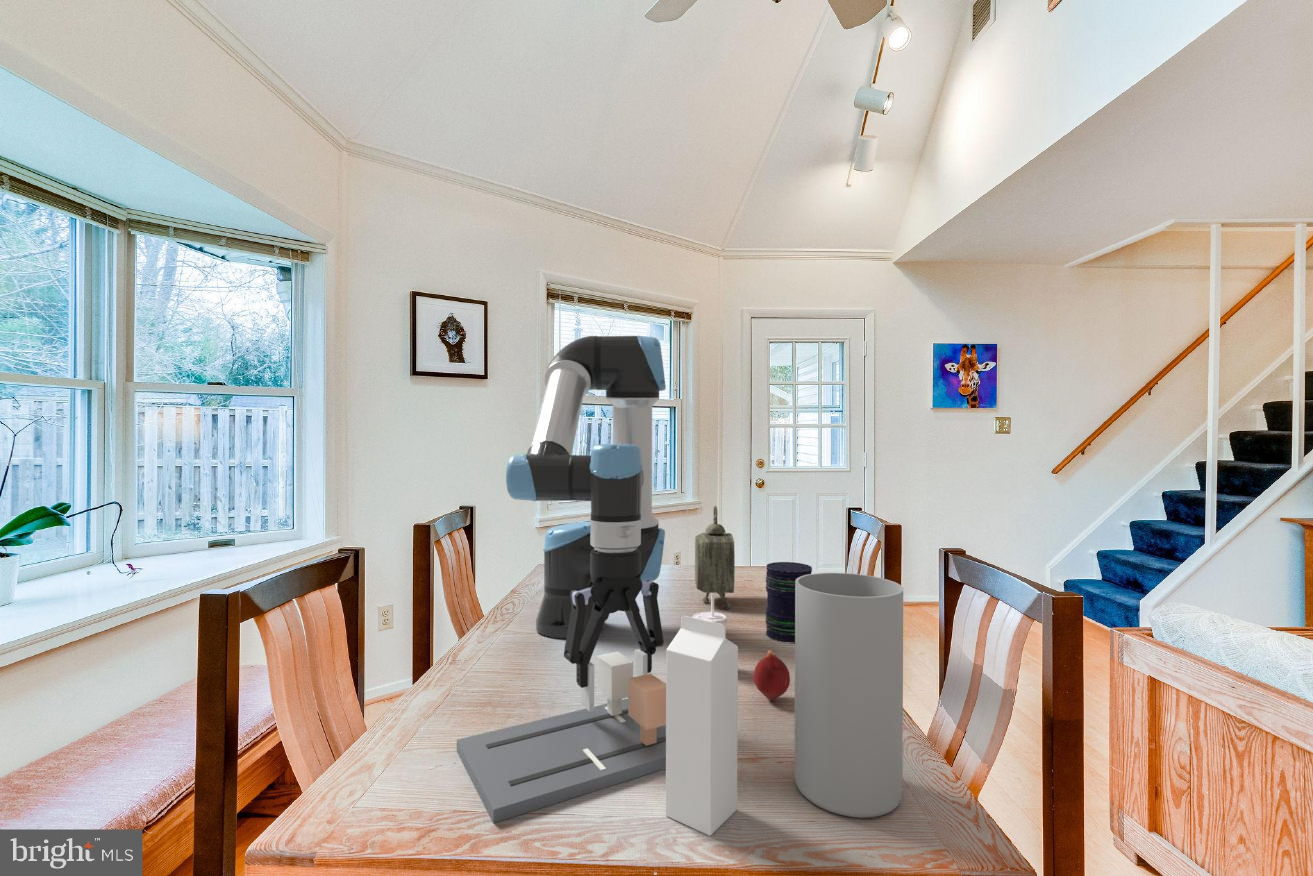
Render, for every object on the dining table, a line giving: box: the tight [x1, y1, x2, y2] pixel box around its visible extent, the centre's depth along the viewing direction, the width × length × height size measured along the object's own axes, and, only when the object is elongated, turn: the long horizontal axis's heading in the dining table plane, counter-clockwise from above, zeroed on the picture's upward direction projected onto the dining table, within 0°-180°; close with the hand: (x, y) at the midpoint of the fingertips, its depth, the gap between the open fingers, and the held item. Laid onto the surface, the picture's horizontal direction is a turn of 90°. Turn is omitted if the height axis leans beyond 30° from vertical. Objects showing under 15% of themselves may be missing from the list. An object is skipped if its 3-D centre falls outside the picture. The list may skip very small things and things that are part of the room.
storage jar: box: [765, 561, 813, 644], centre depth 132 cm, size 10×10×15 cm
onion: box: [753, 650, 791, 701], centre depth 100 cm, size 6×6×8 cm
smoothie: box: [692, 593, 728, 627], centre depth 113 cm, size 6×6×14 cm
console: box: [456, 698, 666, 824], centre depth 82 cm, size 18×28×2 cm, turn 121°
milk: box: [665, 615, 739, 837], centre depth 70 cm, size 6×6×22 cm
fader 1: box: [596, 651, 634, 716], centre depth 91 cm, size 5×4×8 cm
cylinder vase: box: [793, 572, 904, 819], centre depth 74 cm, size 12×12×25 cm
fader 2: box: [627, 673, 666, 746], centre depth 82 cm, size 5×4×8 cm
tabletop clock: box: [694, 505, 736, 610], centre depth 158 cm, size 14×9×25 cm, turn 179°
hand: (614, 700), depth 91 cm, fingers open, 8 cm apart
